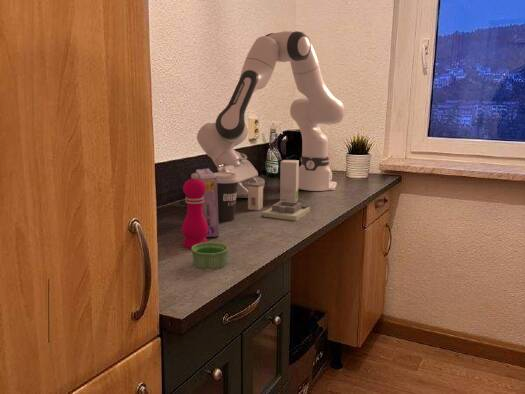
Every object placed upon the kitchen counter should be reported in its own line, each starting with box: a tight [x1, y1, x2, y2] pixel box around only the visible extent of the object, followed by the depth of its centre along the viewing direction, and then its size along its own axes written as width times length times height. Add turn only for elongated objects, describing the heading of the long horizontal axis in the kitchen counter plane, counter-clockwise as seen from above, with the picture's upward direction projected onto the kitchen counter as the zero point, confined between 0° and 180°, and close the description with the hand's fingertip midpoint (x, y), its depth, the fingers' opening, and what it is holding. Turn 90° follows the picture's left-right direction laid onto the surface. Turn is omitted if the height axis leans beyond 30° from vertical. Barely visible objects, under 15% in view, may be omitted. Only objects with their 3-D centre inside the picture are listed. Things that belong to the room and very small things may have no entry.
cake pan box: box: [195, 168, 220, 238], centre depth 147 cm, size 19×5×18 cm, turn 13°
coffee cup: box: [213, 172, 239, 222], centre depth 159 cm, size 10×10×15 cm
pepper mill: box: [181, 172, 208, 249], centre depth 131 cm, size 7×7×20 cm
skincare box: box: [279, 159, 300, 202], centre depth 188 cm, size 8×7×16 cm
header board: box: [262, 200, 311, 222], centre depth 168 cm, size 14×12×4 cm
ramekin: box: [190, 241, 230, 270], centre depth 119 cm, size 9×9×4 cm
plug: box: [247, 183, 264, 211], centre depth 175 cm, size 4×4×9 cm
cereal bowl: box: [236, 176, 266, 199], centre depth 195 cm, size 17×17×7 cm
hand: (253, 191), depth 175 cm, fingers open, 8 cm apart
